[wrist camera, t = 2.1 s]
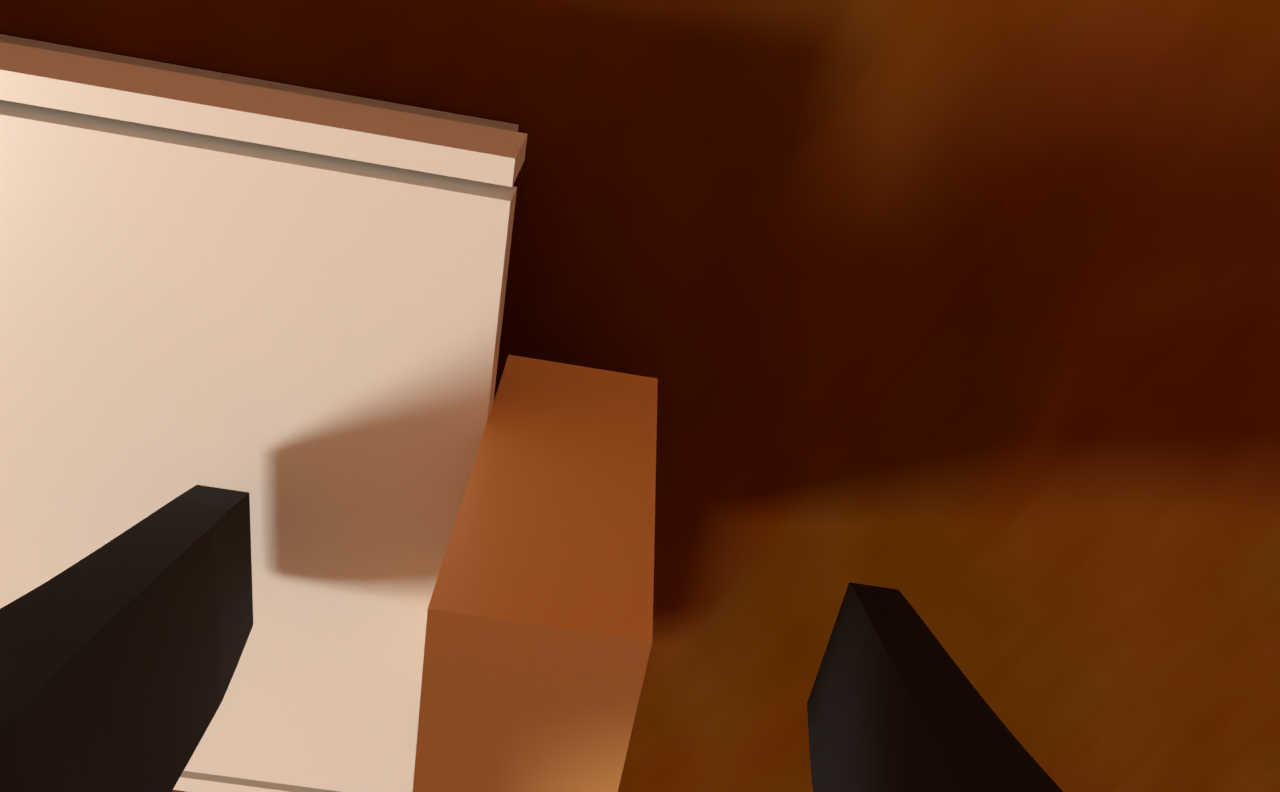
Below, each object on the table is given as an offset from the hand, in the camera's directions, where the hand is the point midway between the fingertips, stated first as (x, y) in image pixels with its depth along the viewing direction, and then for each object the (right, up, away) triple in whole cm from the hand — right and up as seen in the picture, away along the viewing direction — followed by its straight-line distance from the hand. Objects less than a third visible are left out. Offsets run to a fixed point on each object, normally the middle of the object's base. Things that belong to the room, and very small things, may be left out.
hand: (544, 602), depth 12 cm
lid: (-6, +2, +2) cm, 7 cm away
